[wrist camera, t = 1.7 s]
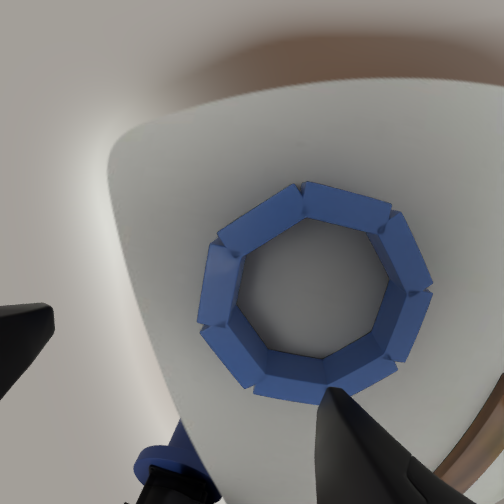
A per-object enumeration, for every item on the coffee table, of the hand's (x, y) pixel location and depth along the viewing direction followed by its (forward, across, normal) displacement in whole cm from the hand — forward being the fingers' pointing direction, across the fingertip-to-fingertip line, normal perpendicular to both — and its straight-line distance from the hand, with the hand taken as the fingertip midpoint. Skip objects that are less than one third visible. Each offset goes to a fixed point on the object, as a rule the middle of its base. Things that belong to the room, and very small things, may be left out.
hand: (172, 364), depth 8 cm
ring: (+9, -5, 0) cm, 11 cm away
